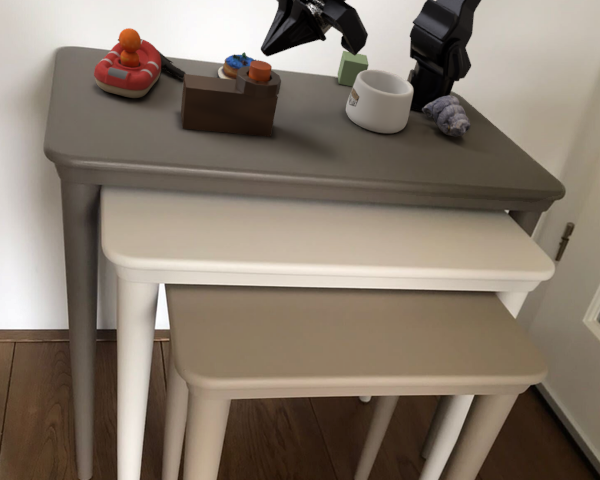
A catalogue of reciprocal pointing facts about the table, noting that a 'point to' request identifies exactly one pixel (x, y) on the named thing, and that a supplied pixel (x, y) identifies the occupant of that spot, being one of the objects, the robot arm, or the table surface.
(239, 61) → the dessert
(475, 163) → the table surface
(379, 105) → the mug
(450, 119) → the grub
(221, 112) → the brown button base
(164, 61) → the bird model
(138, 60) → the toy boat
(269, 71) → the button
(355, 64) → the green cube block
